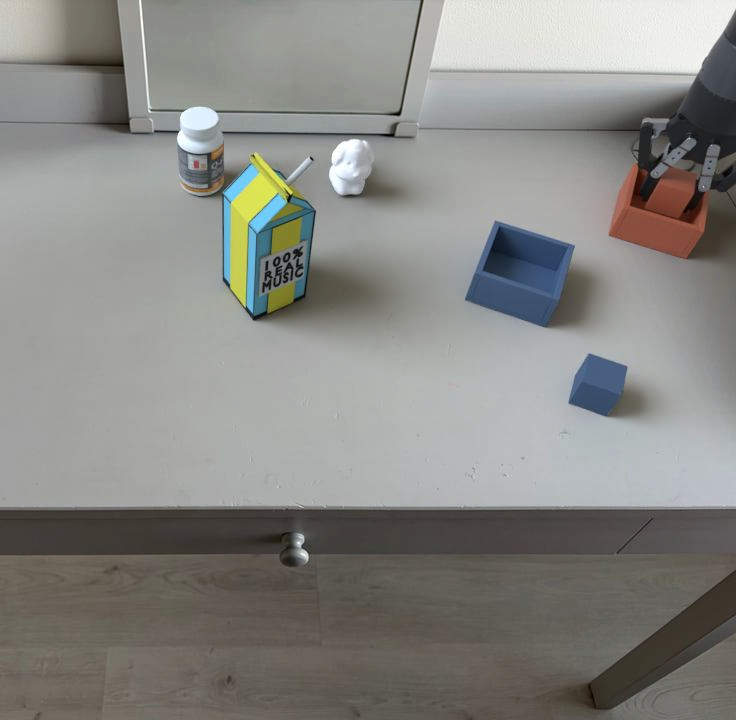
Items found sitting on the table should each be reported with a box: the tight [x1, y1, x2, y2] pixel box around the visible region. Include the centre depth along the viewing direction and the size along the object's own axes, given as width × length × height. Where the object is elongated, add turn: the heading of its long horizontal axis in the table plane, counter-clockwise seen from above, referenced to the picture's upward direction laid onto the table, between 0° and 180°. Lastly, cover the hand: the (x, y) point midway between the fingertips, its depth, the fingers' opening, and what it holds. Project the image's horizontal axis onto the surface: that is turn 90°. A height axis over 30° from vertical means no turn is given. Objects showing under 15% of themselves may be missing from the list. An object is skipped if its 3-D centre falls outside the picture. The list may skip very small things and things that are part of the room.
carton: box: [221, 151, 317, 321], centre depth 83 cm, size 7×8×18 cm
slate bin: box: [464, 220, 576, 328], centre depth 90 cm, size 9×9×5 cm
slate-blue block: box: [568, 353, 628, 417], centre depth 81 cm, size 4×4×4 cm
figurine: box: [328, 138, 375, 196], centre depth 98 cm, size 5×8×8 cm
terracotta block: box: [645, 166, 698, 219], centre depth 94 cm, size 4×4×4 cm
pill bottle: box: [176, 106, 225, 197], centre depth 97 cm, size 6×6×10 cm
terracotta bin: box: [608, 162, 711, 260], centre depth 97 cm, size 9×9×5 cm
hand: (664, 202), depth 96 cm, fingers closed on terracotta block, 4 cm apart
